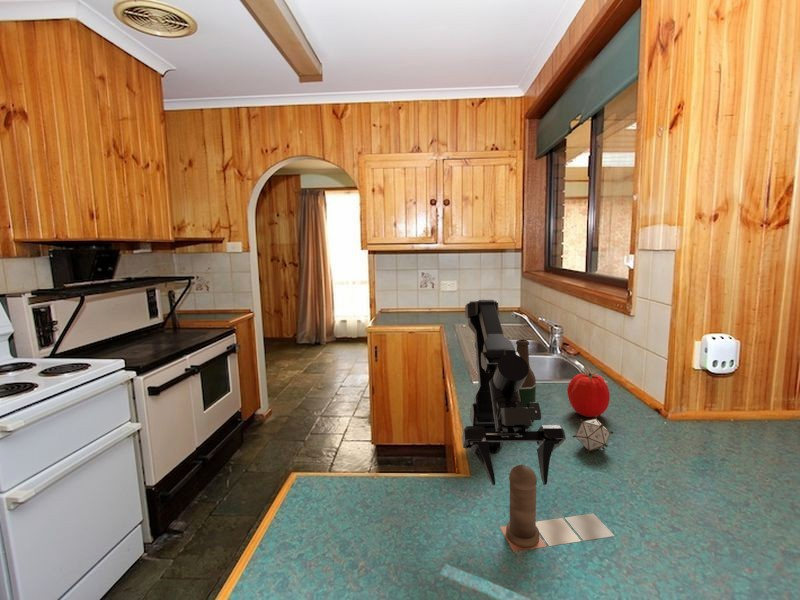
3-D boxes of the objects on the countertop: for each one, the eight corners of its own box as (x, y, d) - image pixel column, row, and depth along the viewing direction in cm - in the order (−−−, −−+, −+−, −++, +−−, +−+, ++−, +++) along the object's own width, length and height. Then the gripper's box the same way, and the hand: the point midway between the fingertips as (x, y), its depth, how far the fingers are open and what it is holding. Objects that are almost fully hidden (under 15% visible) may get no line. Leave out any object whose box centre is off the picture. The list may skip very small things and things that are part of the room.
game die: (599, 465, 101) (621, 447, 94) (566, 452, 102) (585, 433, 95) (598, 435, 107) (619, 416, 100) (567, 422, 108) (585, 403, 101)
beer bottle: (535, 414, 122) (536, 337, 119) (534, 425, 115) (536, 344, 112) (508, 411, 125) (509, 336, 121) (506, 422, 118) (507, 342, 114)
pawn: (499, 534, 72) (499, 466, 70) (518, 520, 75) (519, 454, 73) (526, 553, 67) (527, 480, 65) (545, 537, 71) (546, 467, 69)
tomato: (610, 411, 123) (612, 369, 121) (606, 427, 113) (608, 382, 111) (570, 403, 129) (571, 364, 127) (562, 418, 119) (564, 375, 117)
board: (512, 567, 66) (513, 561, 66) (490, 525, 76) (490, 520, 76) (627, 549, 69) (628, 543, 69) (591, 511, 79) (591, 505, 79)
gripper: (463, 386, 76) (472, 474, 66) (564, 385, 75) (586, 474, 66) (459, 408, 85) (466, 488, 75) (548, 407, 84) (566, 488, 75)
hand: (519, 484), depth 73 cm, fingers open, 9 cm apart
